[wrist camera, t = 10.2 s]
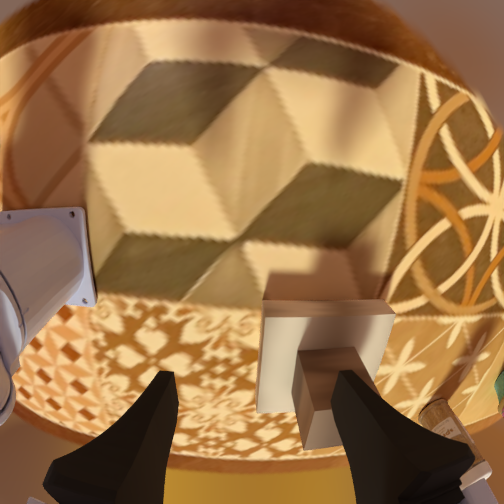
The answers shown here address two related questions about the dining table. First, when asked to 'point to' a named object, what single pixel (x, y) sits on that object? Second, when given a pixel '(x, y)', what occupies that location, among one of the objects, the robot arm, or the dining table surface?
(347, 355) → the walnut block
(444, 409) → the sprinkles bottle
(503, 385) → the cupcake
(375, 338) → the birch block
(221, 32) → the dining table surface
